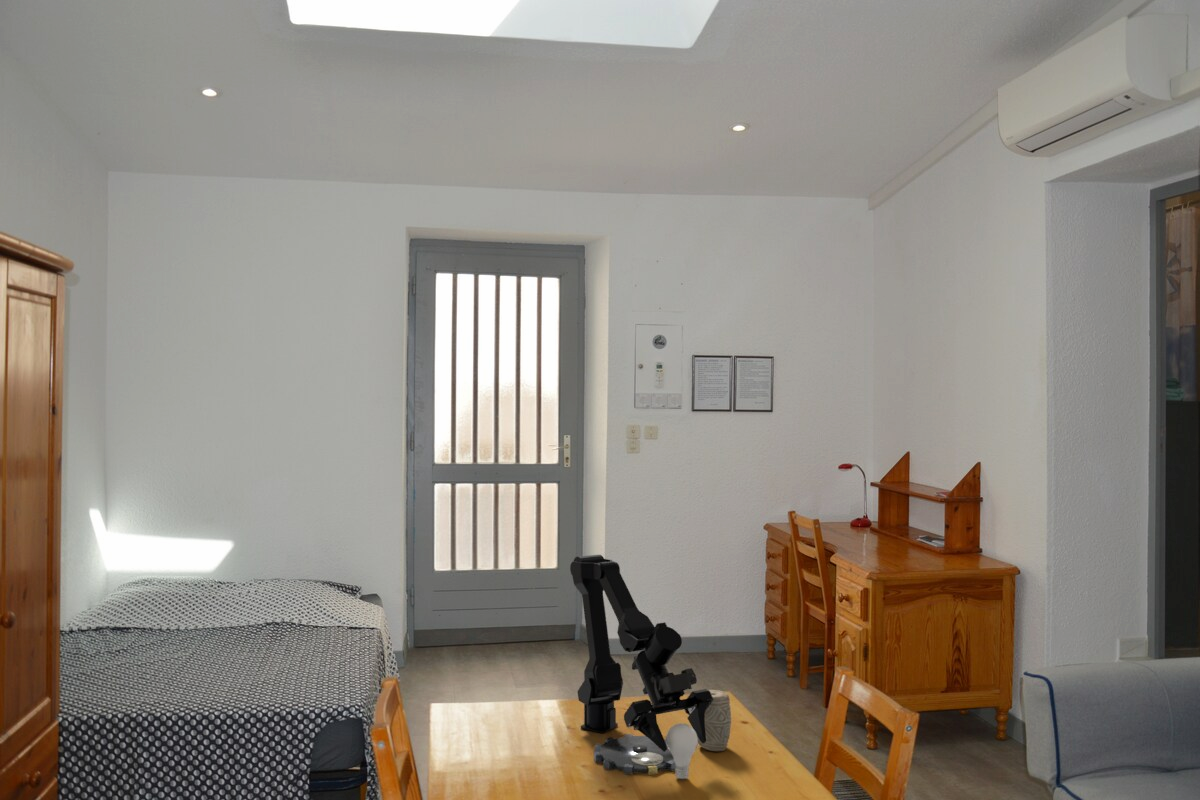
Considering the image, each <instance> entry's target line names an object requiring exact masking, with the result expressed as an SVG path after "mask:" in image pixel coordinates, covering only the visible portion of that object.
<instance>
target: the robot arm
mask: <svg viewBox="0 0 1200 800" xmlns="http://www.w3.org/2000/svg"><path fill="white" fill-rule="evenodd" d="M569 566H570V567H569V569H570V574H571V577H572V581H573V585H574V587H575V588H576V589H577V590H578V592H579V593H580V594H581V597H582V598H581V599H582V605H583V613H584V620H585V621H584V623H585V631H586V639H587V647H588V649H587V650H588V656H589V659H588V661H587V664H586V666H585V668H584V672H583V676H584V677H583V679H584V680H583V682H582V683H581V685H580V686H579V688H578V690H577V691H576V692H577V698H578V701H579V702H581V703H582V704H583V707H584V708H583V710H584V711H583V714H584V715H583V716H584V717H583V720H584V721H583V722H584V723H583V724H582V725H580V729H581V730H586V731H591V732H596V733H600V734H605V733H608V732H609V731H611V730H612V729H614V728H616V727H618V725H619V723H618V722H617V721H616V719H617V718H616V717H617V712H616V711H617V709H616V707H615V701H620V700H621V696H622V691H623V685H624V681H623V680H624V679H623V676H622V670H621V669H622V668H621V667H622V666H621V665H620V662H616V661H615V660H614V658H613V657H612V655H611V647H610V641H609V640H610V639H609V632H608V623H607V617H606V615H607V614H606V607H605V600H604V599H605V598H604V594H605V595H606V597H607V600H608V602H609V604H610V606H611V609H612V610H613V612H614V615H615V617H616V620H617V621H618V622H617V623H618V627H617V632H616V633H617V636H618V638H619V643H620V646H621V647H622V649H623V650H624V651H625V652H627V653H633V652H634V653H635V652H639V653H638V654H637V655H636V656H634V657H633V662H632V663H631V669H632V670H633V671H635V670H637V671H638V674H639V676H640V679H641V681H642V683H643V685H644V688H643V689H642V692H643V694H644V695H648V698H649V699H642V700H636V701H632V703H631V704H630V705H629V706H628V708H627V710H626V711H625V712H624V714H623V721H624V723H625V725H626V728H633V730H634V731H639V732H640V733H641V734H643V736H647V737H648V738H649V739H650V740H652V742H654V743H655V744H656V745H657V746H658V747H659V748H660V749H661V750H662V751H663V752H666V750H667V746H666V743H665V740H664V739H665V737H664V736H663V734H662V731H661V729H660V727H659V724H658V721H657V719H658V718H657V715H661V714H666V713H673V712H676V711H682V710H683V711H684V712H685V714H687V715H688V716H687V720H688V722H689V724H690V726H691V727H692V728H693V729H694V730H695V731H696V733H697V736H698V738H699V739H700V741H701V742H702V743H703V744H704V743H705V742H706V732H705V711H706V709H707V708H708V707H709V705H710V704H711V703H712V701H713V700H714V699H713V697H712V694H711V692H710V691H709V690H710V689H706V688H705V689H698V690H693V691H691V692H690V694H689V695H688V696H687V698H685V699H681V697H683V696H684V695H685V691H686V690H692V688H693V687H692V686H693V685H695V684H697V681H698V679H697V676H696V673H695V672H694V669H693V668H692V667H691V668H685V669H682V670H680V671H681V672H680V673H679V674H675V673H673V672H669V670H668V668H667V664H669V663H670V662H671V661H672V659H673V658H674V656H675V655H676V654H677V652H678V651H679V649H680V647H682V642H683V640H682V635H680V633H678V631H676V630H675V629H674V628H672V627H670V626H668V625H667V623H666V622H665V621H664V622H658V623H656V625H654V624H653V622H652V621H651V619H650V618H649V617H648V615H647V614H645V613H643V612H642V611H640V610H639V608H638V606H637V604H636V603H635V601H634V598H633V596H632V594H631V592H630V591H629V589H628V586H627V584H626V582H625V579H624V577H623V576H622V574H621V568H620V564H619V563H618V562H616V561H614V560H613V559H610V558H609V559H608V558H604V556H603V555H602V554H591V555H590V554H588V555H579V556H575V557H574V559H573V561H572V562H571V563H570V565H569Z"/></svg>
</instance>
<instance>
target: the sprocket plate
mask: <svg viewBox="0 0 1200 800" xmlns="http://www.w3.org/2000/svg"><path fill="white" fill-rule="evenodd" d="M664 740H665V743H666V738H664ZM666 746H667V744H666ZM593 748H594V749H593V750H594V751H593V760H594V762H595V763H602V764H603V765H602V767H603V769H605V770H607V771H612V770H618V771H622V772H623V775H631V776H632V775H633V774H634V773H640V774H641V773H647V775H649V776H652V775H658V772H660V771H661V772H662V771H665V770H667V771H669V772H670V771H671V772H673V771H676V770H675V763H674V759H673V756H672V754H671V752H670V751H669V749H668V747H667V750H666V752H663V751H662V750H661V749H660V748H659V747H658V746H657V745H656V744H655V743H654V742H652V740H650V739H649V738H648V737H647V736H645V735H634V734H633V733H627V734H623V736H621V737H617V738H614V737H611V736H610V737H606V738H605V739H604V743H603V744H602V743H595V745H594V747H593Z"/></svg>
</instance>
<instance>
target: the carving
mask: <svg viewBox="0 0 1200 800" xmlns="http://www.w3.org/2000/svg"><path fill="white" fill-rule="evenodd" d="M708 690H709V691H710V692H711V694H712V697H713V699H714V700H713V701H712V703H711V704H710V705H709V707H708V708H707V709H706V711H705V732H706V742H705V743H704V744H703V743H702V742H701V741H700V739H699V738H698V745H699V746H700V747H701V748H703V749H704V750H707V751H709V752H724V751H725V750H726V749H727V747H728V743H729V739H730V734H731V728H732V727H731V726H732V717H731V715H732V711H731V705H730V703H731V702H730V695H729V694H728V693H726V692H725V691H724V690H723V691H722V690H718V689H708Z"/></svg>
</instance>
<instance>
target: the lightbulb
mask: <svg viewBox="0 0 1200 800" xmlns="http://www.w3.org/2000/svg"><path fill="white" fill-rule="evenodd" d="M665 739H666V744H667V747H668V749H669V751H670V752H671V754H672V756H673V759H674V763H675V770H674V772H675V775H674V776H675V778H676V779H678V780H680V781H685V780H686V779H688V778H689V776H690V775H689V773H690V772H689V771H690V770H689V769H690V768H689V766H690V763H691V761H692V760H691V759H692V756H693V755H694V753H695V751H696V750H697V748H698V745H699V743H698V736H697V733H696V731H695V730H694V729H693V727H692V726H691V725H689V724H688V723H687V724H686V723H683V722H682V723H676V724H674V725H672V726H671V727H670V729H668V731H667V733H666V738H665Z"/></svg>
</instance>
